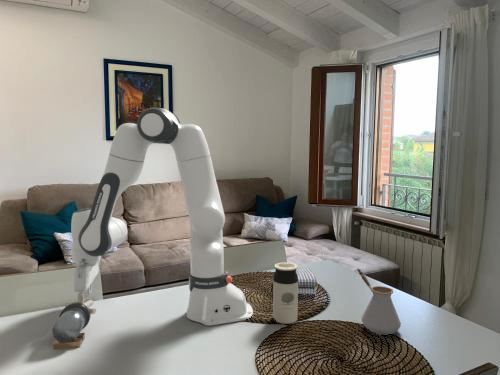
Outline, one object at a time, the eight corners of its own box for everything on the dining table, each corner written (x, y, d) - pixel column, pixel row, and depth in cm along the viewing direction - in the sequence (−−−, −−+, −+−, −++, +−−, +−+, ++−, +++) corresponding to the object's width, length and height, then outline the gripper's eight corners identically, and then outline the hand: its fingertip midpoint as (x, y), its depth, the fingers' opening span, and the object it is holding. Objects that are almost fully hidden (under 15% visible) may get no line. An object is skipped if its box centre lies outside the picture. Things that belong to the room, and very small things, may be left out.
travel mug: (274, 313, 131) (274, 261, 130) (297, 314, 130) (298, 262, 129) (272, 323, 124) (272, 268, 122) (297, 325, 123) (298, 270, 121)
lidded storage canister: (61, 332, 117) (60, 303, 116) (91, 330, 118) (90, 301, 117) (50, 349, 107) (48, 317, 106) (82, 347, 108) (81, 315, 108)
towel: (278, 297, 146) (278, 277, 146) (273, 281, 165) (273, 263, 164) (318, 297, 147) (318, 277, 146) (309, 281, 165) (309, 263, 164)
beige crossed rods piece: (83, 334, 117) (84, 302, 116) (55, 327, 119) (56, 296, 118) (103, 319, 127) (104, 290, 125) (77, 313, 129) (78, 285, 128)
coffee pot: (408, 336, 115) (410, 288, 114) (373, 340, 113) (375, 291, 111) (370, 308, 136) (372, 266, 135) (340, 311, 133) (341, 268, 132)
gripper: (89, 264, 121) (90, 306, 122) (102, 247, 141) (103, 284, 142) (67, 264, 120) (69, 308, 121) (83, 248, 140) (85, 285, 141)
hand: (87, 295), depth 132 cm, fingers closed
